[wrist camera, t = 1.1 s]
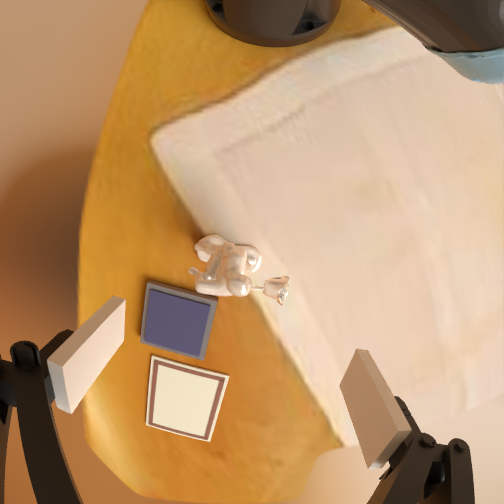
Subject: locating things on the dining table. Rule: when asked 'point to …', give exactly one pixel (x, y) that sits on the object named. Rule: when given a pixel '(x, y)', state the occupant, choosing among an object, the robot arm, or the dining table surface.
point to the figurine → (232, 270)
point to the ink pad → (177, 319)
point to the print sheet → (184, 398)
